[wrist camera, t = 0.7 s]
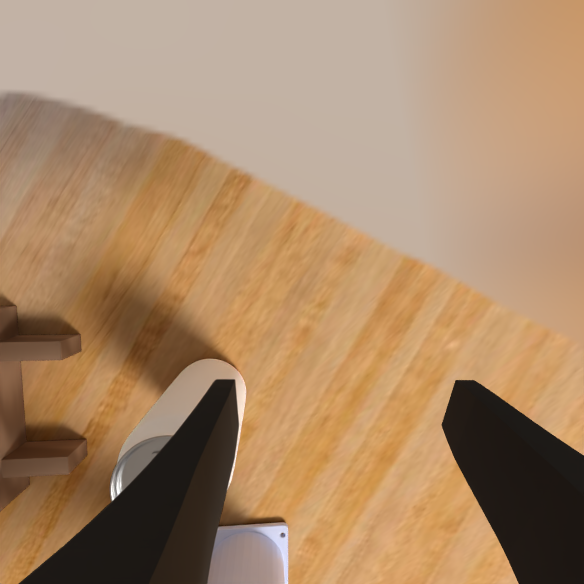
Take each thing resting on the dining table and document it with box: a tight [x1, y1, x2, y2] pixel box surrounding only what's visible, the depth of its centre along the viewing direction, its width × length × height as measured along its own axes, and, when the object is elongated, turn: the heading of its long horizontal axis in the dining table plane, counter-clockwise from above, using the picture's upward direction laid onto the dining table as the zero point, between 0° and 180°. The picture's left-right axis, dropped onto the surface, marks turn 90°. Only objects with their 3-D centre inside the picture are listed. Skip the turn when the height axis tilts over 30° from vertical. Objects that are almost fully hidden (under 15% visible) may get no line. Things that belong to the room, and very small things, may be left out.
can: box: [110, 359, 246, 502], centre depth 21 cm, size 6×6×12 cm
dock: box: [0, 306, 87, 511], centre depth 24 cm, size 16×6×4 cm, turn 0°
